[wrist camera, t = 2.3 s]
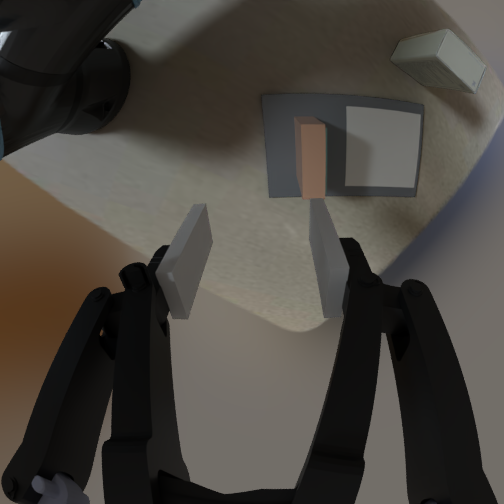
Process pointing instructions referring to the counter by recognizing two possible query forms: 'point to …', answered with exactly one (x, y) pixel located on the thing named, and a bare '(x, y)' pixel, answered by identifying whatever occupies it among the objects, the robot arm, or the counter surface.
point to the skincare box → (440, 61)
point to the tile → (311, 156)
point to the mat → (347, 143)
